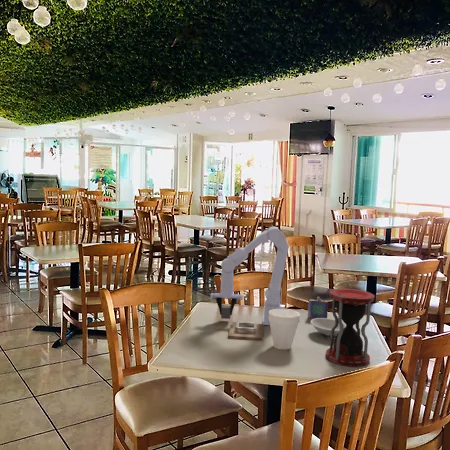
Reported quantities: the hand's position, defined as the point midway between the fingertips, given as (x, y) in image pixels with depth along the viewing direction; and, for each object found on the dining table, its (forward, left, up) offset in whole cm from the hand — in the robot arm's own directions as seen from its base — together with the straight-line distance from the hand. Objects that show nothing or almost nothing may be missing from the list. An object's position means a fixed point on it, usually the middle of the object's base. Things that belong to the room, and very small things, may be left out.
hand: (226, 314), depth 219 cm
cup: (-25, +28, -4) cm, 38 cm away
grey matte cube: (0, 0, -2) cm, 2 cm away
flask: (-43, -14, -4) cm, 45 cm away
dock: (-10, +13, -3) cm, 17 cm away
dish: (-45, +10, -4) cm, 46 cm away
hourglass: (-49, +36, -4) cm, 61 cm away
